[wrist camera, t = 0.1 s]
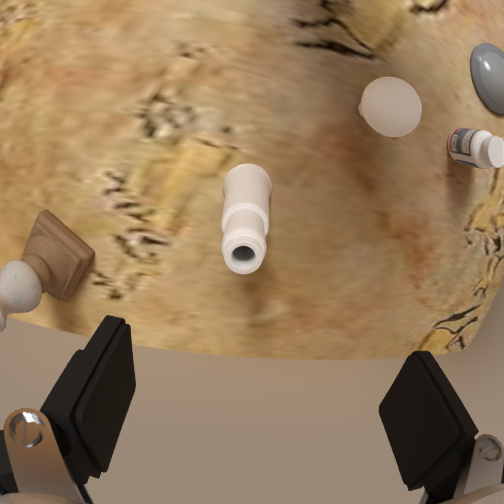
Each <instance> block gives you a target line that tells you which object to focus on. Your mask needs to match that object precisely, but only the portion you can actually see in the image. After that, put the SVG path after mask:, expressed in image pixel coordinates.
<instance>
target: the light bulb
mask: <svg viewBox="0 0 504 504" xmlns="http://www.w3.org/2000/svg"><path fill="white" fill-rule="evenodd" d="M358 109H359V113H360V115H361V116H362V117H363V118H364V119H365V120H366V121H367V123H368V124H369V125H370V126H371V127H372V128H373V129H374V130H375V131H376V132H378V133H380V134H382V135H384V136H388V137H401V136H405V135H407V134H409V133H410V132H412V131H413V130H414V129H415V128H416V127H417V126H418V124H419V122H420V119H421V115H422V105H421V101H420V98H419V96H418V94H417V93H416V91H415V90H414V89H413V87H412V86H411V85H409V84H408V83H407V82H405V81H403V80H402V79H399V78H396V77H380V78H378V79H375V80H374V81H372V82H371V83H369V85H368V86H367V87H366V88H365V90H364V92H363V95H362V98H361V102H360V103H359V106H358Z"/></svg>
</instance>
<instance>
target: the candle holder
mask: <svg viewBox="0 0 504 504" xmlns="http://www.w3.org/2000/svg"><path fill="white" fill-rule="evenodd" d="M94 254H95V252H94V250H93V249H92V248H90V247H89V246H88V245H87V244H86V243H85V242H84V241H83V240H81V239H80V238H79V237H78V236H77V235H76V234H74V233H73V232H72V231H71V230H70V229H69V228H67V227H66V226H65V225H64V224H63V223H62V222H61V221H60V220H58V219H57V218H56V217H55V216H54V215H53V214H52V213H50V212H49V211H48V210H45V211H43V212H41V213H40V214H39V215H38V217H37V219H36V221H35V223H34V226H33V228H32V231H31V233H30V236H29V239H28V241H27V244H26V247H25V249H24V252H23V255H22V258H21V259H20V260H11V261H9V262H7V263H6V264H5V265H4V266H3V267H2V269H1V271H0V332H2V331H3V330H4V329H5V326H6V319H7V315H8V314H11V313H27V312H30V311H32V310H34V309H35V308H36V307H37V306H38V305H39V303H40V301H41V298H42V294H43V293H45V292H46V291H47V292H48V293H49V294H50V295H51V296H53V297H54V298H55V299H57V300H59V301H60V300H61V299H62V300H63V301H64V302H66V301H68V299H69V298H70V297H71V296H72V295H73V293H74V291H75V290H76V288H77V286H78V284H79V282H80V280H81V278H82V276H83V275H84V273H85V271H86V269H87V267H88V266H89V264H90V262H91V260H92V258H93V256H94Z"/></svg>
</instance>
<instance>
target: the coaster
mask: <svg viewBox="0 0 504 504" xmlns="http://www.w3.org/2000/svg"><path fill="white" fill-rule="evenodd" d="M470 70H471V76H472V80H473V83H474V86H475V89H476V91H477V93H478V95H479V97H480V98H481V100H482V101H483V102H484V104H485V105H486V106H487V107H488V108H489V109H490V110H492V111H493V112H495V113H498V114H504V52H503V51H502V50H501V49H499V48H498V47H496V46H495V45H492V44H489V43H484V44H480V45H478V46H476V48H475V49H474V50H473V52H472V55H471V59H470Z"/></svg>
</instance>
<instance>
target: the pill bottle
mask: <svg viewBox="0 0 504 504" xmlns="http://www.w3.org/2000/svg"><path fill="white" fill-rule="evenodd" d="M448 150H449V153H450V155H451V157H452V158H453V159H454V160H455V161H456V162H458V163H461V164H465V165H469V166H473V167H477V168H481V169H489V168H491V167H495V168H500V167H502V166H503V165H504V141H503V140H502V139H501V138H500V137H496V136H492V134H491V133H489V132H488V131H484V130H476V129H466V128H457V129H455V130H453V131H452V132H451V134H450V136H449V138H448Z"/></svg>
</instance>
